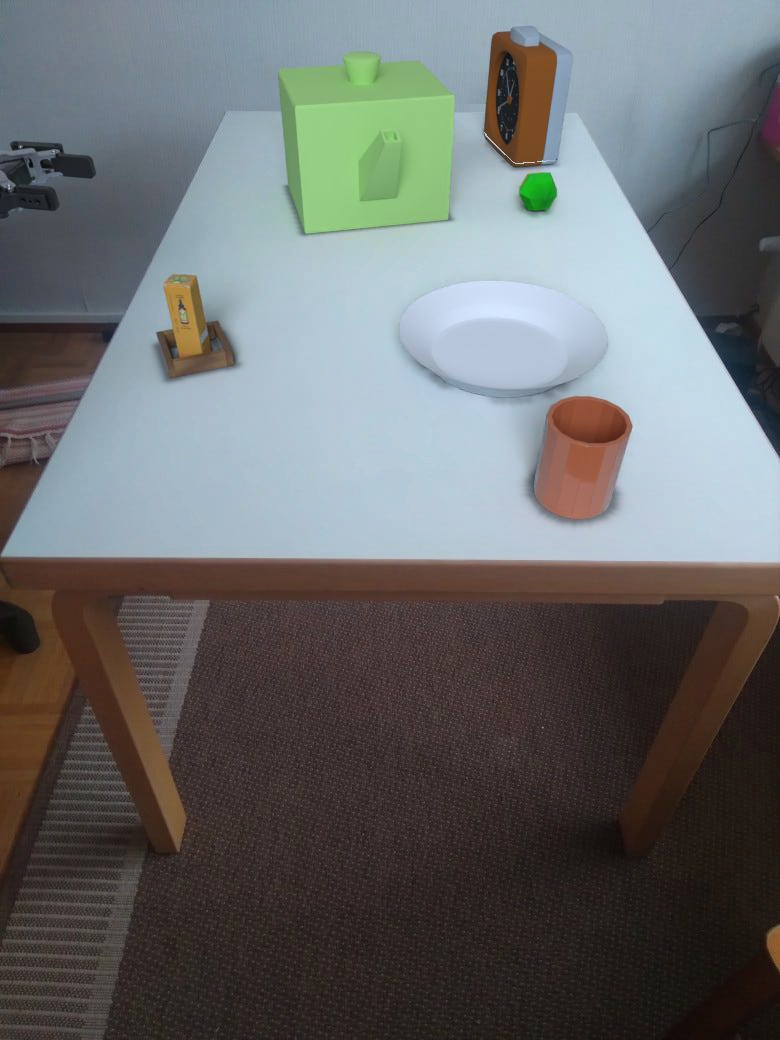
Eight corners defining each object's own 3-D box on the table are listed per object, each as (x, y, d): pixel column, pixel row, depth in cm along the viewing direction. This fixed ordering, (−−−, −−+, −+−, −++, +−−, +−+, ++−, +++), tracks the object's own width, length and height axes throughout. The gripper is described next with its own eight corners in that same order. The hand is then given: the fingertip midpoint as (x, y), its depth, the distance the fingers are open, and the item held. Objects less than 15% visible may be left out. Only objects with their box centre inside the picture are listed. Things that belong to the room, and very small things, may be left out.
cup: (558, 527, 70) (575, 454, 63) (519, 478, 75) (532, 406, 68) (626, 507, 72) (649, 434, 65) (583, 460, 77) (601, 388, 70)
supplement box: (213, 349, 92) (199, 273, 85) (204, 363, 89) (188, 287, 82) (188, 346, 92) (171, 271, 85) (178, 361, 90) (160, 285, 83)
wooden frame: (170, 378, 87) (166, 364, 86) (159, 345, 92) (155, 331, 91) (234, 365, 89) (231, 350, 88) (220, 333, 94) (217, 320, 93)
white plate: (593, 432, 80) (599, 405, 77) (374, 396, 85) (373, 369, 82) (608, 319, 97) (614, 294, 94) (425, 294, 102) (426, 270, 99)
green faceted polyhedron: (552, 169, 115) (529, 150, 121) (520, 199, 117) (500, 178, 123) (573, 201, 120) (550, 180, 126) (542, 229, 122) (521, 207, 128)
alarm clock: (481, 137, 148) (491, 16, 134) (522, 134, 150) (536, 14, 135) (514, 170, 135) (529, 40, 121) (558, 166, 137) (578, 37, 122)
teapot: (313, 257, 110) (301, 95, 95) (283, 173, 134) (270, 33, 119) (463, 241, 114) (475, 83, 98) (408, 162, 138) (410, 25, 123)
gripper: (-126, 159, 72) (29, 171, 70) (-43, 111, 81) (95, 121, 80) (-90, 233, 77) (54, 247, 75) (-17, 180, 87) (113, 191, 85)
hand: (75, 182), depth 77 cm, fingers open, 8 cm apart
